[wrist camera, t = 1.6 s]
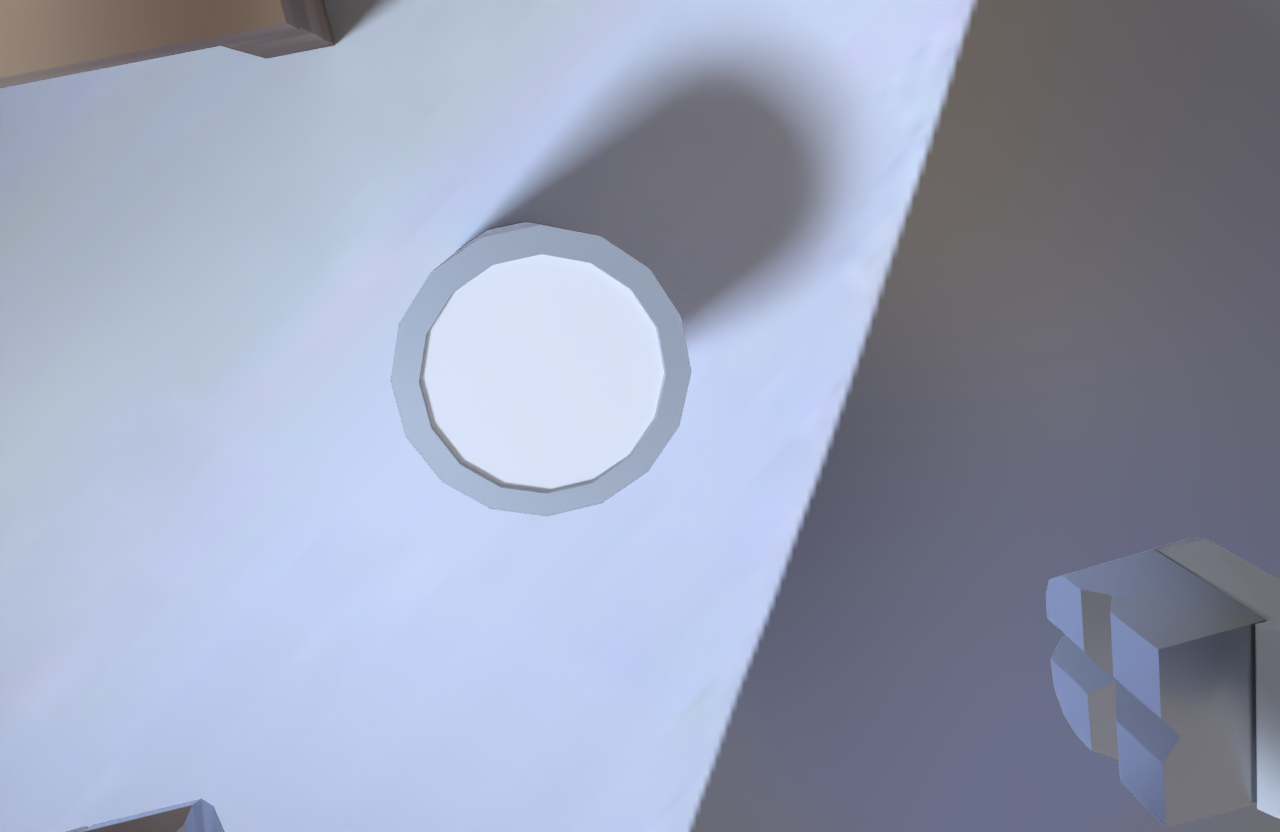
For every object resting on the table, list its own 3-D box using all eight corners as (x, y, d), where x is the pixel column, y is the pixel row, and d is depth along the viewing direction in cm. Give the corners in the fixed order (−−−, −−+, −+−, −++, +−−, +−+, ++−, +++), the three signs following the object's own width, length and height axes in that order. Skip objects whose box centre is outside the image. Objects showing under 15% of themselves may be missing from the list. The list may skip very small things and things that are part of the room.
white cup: (400, 200, 28) (379, 226, 22) (644, 199, 30) (695, 224, 23) (414, 436, 30) (399, 526, 24) (642, 427, 31) (689, 510, 25)
